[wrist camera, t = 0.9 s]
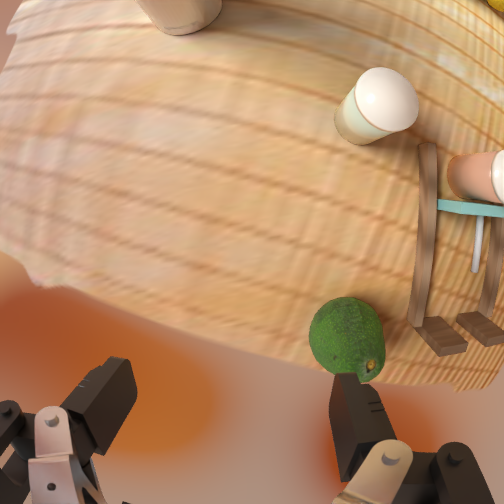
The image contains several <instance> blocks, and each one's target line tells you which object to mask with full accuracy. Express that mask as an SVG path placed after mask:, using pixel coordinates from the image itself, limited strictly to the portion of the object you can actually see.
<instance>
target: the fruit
mask: <svg viewBox="0 0 504 504" xmlns="http://www.w3.org/2000/svg"><path fill="white" fill-rule="evenodd" d="M309 342H310V347H311V349H312V352H313V354H314V356H315V358H316V360H317V361H318V362H319V363H320V364H321V365H322V366H323V367H324V368H325V369H326V370H327V371H329V372H331V373H333V374H334V375H335V374H336V373H346V372H356V373H357V375H358V378H359V381H360V383H362V382H369V381H370V380H372V379H373V378H375V377H376V376H377V375H378V374H379V373H380V372H381V370H382V368H383V366H384V362H385V343H384V337H383V329H382V324H381V322H380V319H379V317H378V315H377V313H376V312H375V310H374V309H373V308H372V307H371V306H370V305H368V304H367V303H365V302H363V301H360V300H358V299H356V298H353V297H340V298H337V299H334V300H331V301H329V302H328V303H326V304H325V305H323V306H322V307H321V308H320V309H319V310H318V312H317V313H316V314H315V316H314V318H313V320H312V323H311V326H310V331H309Z"/></svg>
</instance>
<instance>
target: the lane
mask: <svg viewBox="0 0 504 504" xmlns="http://www.w3.org/2000/svg"><path fill="white" fill-rule="evenodd" d="M418 147H419V219H418V235H417V248H416V258H415V267H414V276H413V283H412V290H411V297H410V303H409V309H408V315H407V320H408V321H409V322H410V324H411V325H412V326H413V328H414V329H415V330H416V331H417V332H418V333H419V334H420V336H421V337H422V338H423V339H424V340H425V341H426V342H427V344H428V345H429V346H430V347H431V348H432V349H433V351H434V352H435V353H436V354H437V355H438V356H439V357H441V356H447V355H452V354H457V353H462V352H466V349H467V346H468V342H467V341H466V340H465V339H464V338H463V337H462V336H460V335H459V334H458V333H457V332H456V331H455V330H454V329H453V328H452V327H451V326H449V325H448V324H447V323H446V322H445V321H444V320H443V319H442V318H441V317H439V316H436V317H426V318H424V313H425V307H426V302H427V296H428V290H429V284H430V277H431V270H432V262H433V253H434V242H435V230H436V212H437V154H436V144H435V143H429V142H427V143H423V144H419V145H418ZM492 205H497V206H503V207H504V204H503V203H497V202H492ZM503 256H504V218H502V217H492V221H491V234H490V244H489V252H488V260H487V267H486V273H485V279H484V284H483V290H482V295H481V299H480V304H479V308H478V311H476V312H469V313H462V314H458V316H457V321H456V322H457V323H458V324H460V325H461V326H462V327H463V328H464V329H465V330H467V331H468V332H469V333H470V334H471V335H472V336H473V337H475V338H476V339H477V340H478V341H479V342H480V343H481V344H482V345H484V346H485V347H489V346H493V345H497V344H500V343H504V330H502V329H501V328H500V327H498V326H497V325H496V324H494V323H493V322H492V321H490V320H489V319H488V318H487V317H492V313H493V309H494V305H495V300H496V296H497V291H498V286H499V281H500V275H501V269H502V263H503Z"/></svg>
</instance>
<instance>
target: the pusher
mask: <svg viewBox="0 0 504 504" xmlns="http://www.w3.org/2000/svg"><path fill="white" fill-rule="evenodd" d="M437 209H438V210H444V211H449V212H454V213H459V214H470V215H477V220H476V233H475V244H474V252H473V260H472V267H471V272H474V273H478V269H479V262H480V254H481V246H482V236H483V224H484V216H492V217H502V218H504V207H503V206H497V205H491V204H482V203H474V202H465V201H455V200H444V199H437Z"/></svg>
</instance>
